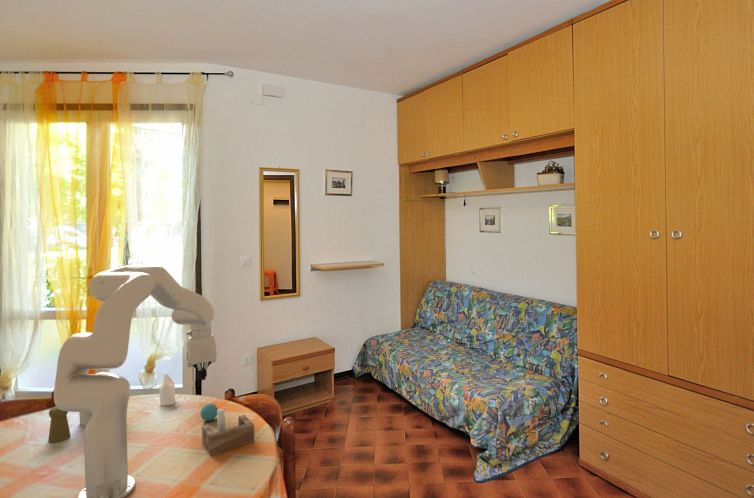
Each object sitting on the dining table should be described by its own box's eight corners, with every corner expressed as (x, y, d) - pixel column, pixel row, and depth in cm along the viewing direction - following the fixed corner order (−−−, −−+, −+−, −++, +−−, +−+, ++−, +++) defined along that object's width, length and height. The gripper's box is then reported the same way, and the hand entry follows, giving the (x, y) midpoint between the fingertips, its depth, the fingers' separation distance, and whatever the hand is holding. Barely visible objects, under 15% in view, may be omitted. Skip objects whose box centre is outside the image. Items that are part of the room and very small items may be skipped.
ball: (220, 420, 152) (219, 404, 152) (203, 425, 149) (202, 408, 148) (215, 415, 157) (215, 399, 157) (198, 419, 153) (198, 403, 153)
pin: (225, 434, 142) (225, 410, 141) (218, 436, 140) (218, 412, 140) (223, 432, 143) (223, 408, 143) (216, 434, 142) (216, 409, 142)
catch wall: (254, 442, 137) (253, 424, 136) (210, 456, 128) (210, 437, 128) (244, 431, 144) (244, 414, 143) (202, 444, 135) (201, 426, 135)
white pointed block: (171, 376, 166) (156, 376, 165) (172, 405, 166) (157, 406, 165) (176, 371, 172) (161, 372, 171) (176, 399, 172) (162, 400, 171)
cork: (44, 440, 138) (43, 408, 138) (64, 432, 143) (63, 401, 143) (53, 444, 135) (52, 411, 135) (74, 436, 141) (73, 405, 140)
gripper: (182, 338, 152) (184, 386, 153) (223, 331, 161) (224, 377, 162) (177, 333, 158) (179, 380, 159) (217, 327, 167) (219, 372, 168)
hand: (202, 379), depth 160 cm, fingers closed
